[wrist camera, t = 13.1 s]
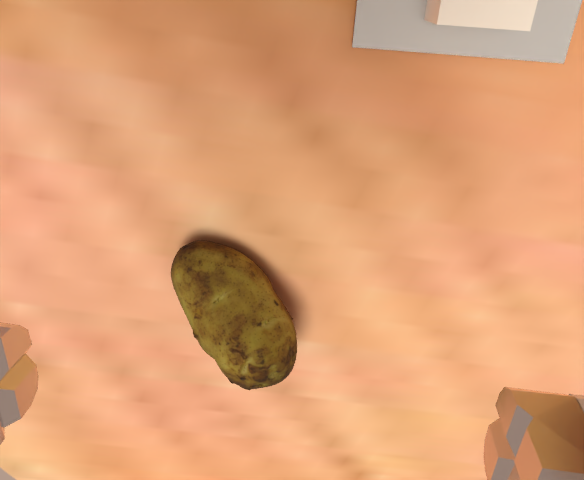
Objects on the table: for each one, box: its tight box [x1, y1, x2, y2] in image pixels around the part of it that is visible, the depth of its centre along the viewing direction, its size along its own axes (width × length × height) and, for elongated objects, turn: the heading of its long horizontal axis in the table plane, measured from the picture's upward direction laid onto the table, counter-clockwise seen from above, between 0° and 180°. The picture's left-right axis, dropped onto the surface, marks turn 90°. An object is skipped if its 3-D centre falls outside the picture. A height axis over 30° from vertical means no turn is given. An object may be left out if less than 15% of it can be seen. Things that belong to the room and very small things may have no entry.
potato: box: [171, 241, 297, 390], centre depth 41 cm, size 8×13×8 cm, turn 22°
